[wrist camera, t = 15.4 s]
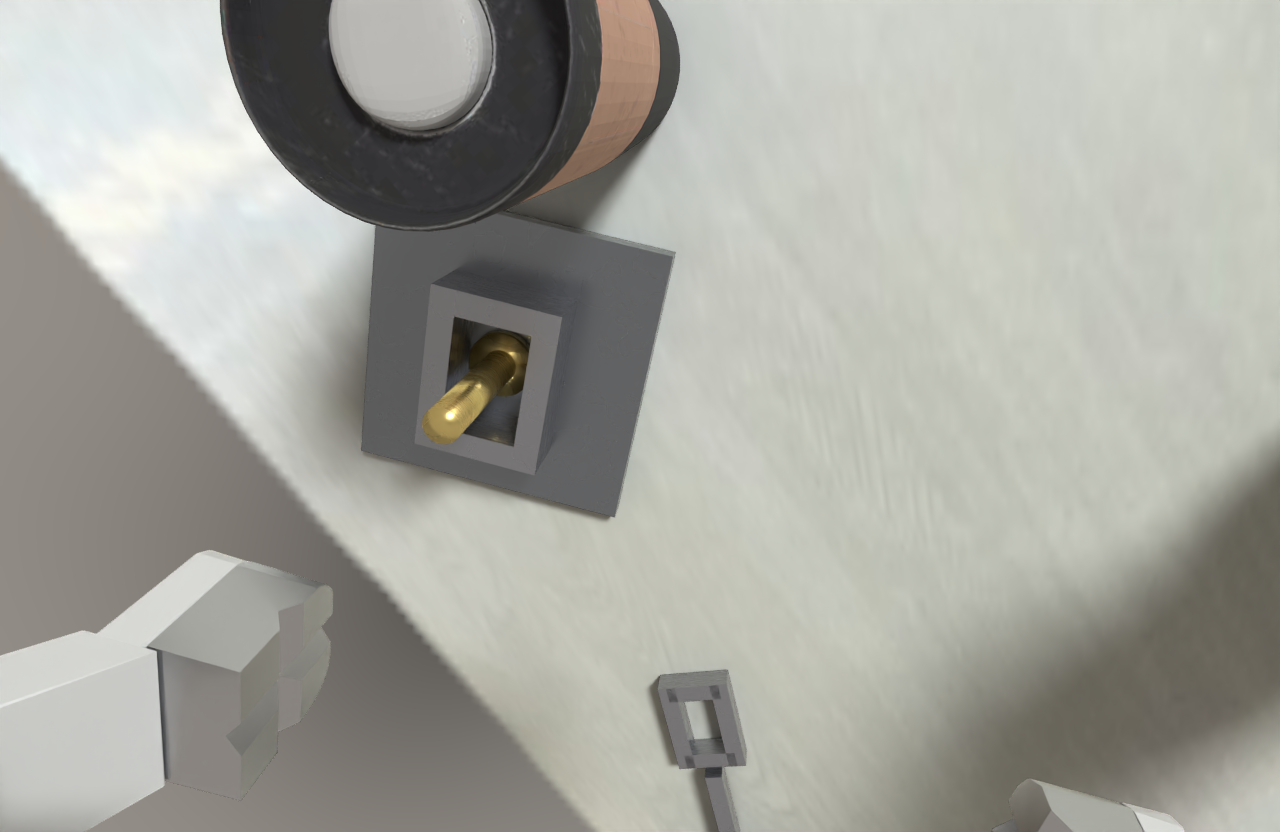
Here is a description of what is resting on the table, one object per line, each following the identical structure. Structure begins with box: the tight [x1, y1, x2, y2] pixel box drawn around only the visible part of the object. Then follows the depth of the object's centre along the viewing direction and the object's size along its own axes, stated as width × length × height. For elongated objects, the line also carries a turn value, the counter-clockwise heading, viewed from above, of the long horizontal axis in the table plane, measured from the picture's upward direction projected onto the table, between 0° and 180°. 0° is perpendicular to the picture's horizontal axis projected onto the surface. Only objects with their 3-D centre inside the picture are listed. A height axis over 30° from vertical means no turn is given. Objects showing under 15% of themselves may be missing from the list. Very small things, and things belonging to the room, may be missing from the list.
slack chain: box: [657, 670, 747, 832], centre depth 47 cm, size 5×17×4 cm, turn 13°
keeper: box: [361, 211, 676, 517], centre depth 35 cm, size 14×14×9 cm
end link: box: [415, 269, 578, 475], centre depth 37 cm, size 6×8×3 cm
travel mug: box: [220, 0, 680, 232], centre depth 25 cm, size 8×8×20 cm
